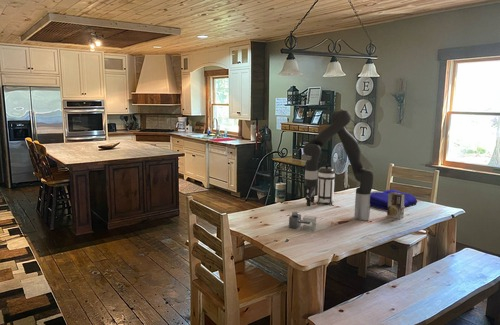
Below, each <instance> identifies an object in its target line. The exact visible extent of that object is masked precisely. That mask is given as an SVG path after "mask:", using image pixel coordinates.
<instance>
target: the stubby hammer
mask: <svg viewBox="0 0 500 325" xmlns="http://www.w3.org/2000/svg"><path fill="white" fill-rule="evenodd" d="M302 224H303V225H304V224H312V222H306V221H303V219H302V214H300V213H299V212H298V211H292V212H291V214H290V215H289V217H288V228H289V229H292V230H293V229H294V230H298V229H299V228H300V227H301V226H302Z"/></svg>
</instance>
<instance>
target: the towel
mask: <svg viewBox="0 0 500 325" xmlns="http://www.w3.org/2000/svg"><path fill="white" fill-rule="evenodd" d="M391 192H396V193H402V194H405V202H404V208H405V207H409V206H412V205H416V204H417V203H418V200H417V198H416V197H415V196H414V195H413V194H410V193H407V192H402V191H398V190H396V189H387V190H383V191H379V192H378V191H377V192H371V193H370V207H372V208H373V207H374V208H377V209H380V210H383V209H384V211H387V210H388V194H389V193H391Z"/></svg>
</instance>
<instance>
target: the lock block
mask: <svg viewBox="0 0 500 325" xmlns="http://www.w3.org/2000/svg"><path fill="white" fill-rule="evenodd" d="M302 220H303V221H306V222H311V223H310V224H304V223H303V224H302V230H303V231H310V232H315V230H317V216H313V215H304V216H303V217H302Z"/></svg>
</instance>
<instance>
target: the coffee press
mask: <svg viewBox="0 0 500 325" xmlns="http://www.w3.org/2000/svg"><path fill="white" fill-rule="evenodd" d="M317 171H318V184H317V193H316V195H317V196H316V198H317V199H316V204H317V205H320V204H321V203H322V204H328V205H329V206H333V203H334V199H335V198H334V197H335V196H334V194H335V179H336V170H335V168H333V167H330V166H329V163H326V164H325V166H322V167H319V169H318V170H317Z"/></svg>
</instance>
